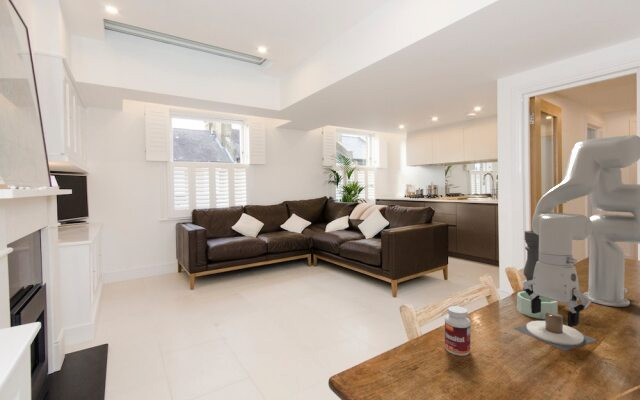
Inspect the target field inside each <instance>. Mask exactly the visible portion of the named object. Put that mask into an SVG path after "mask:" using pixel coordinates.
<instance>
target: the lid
mask: <svg viewBox="0 0 640 400" xmlns="http://www.w3.org/2000/svg"><path fill="white" fill-rule="evenodd" d="M544 320H545V321H542V320H531V321H530V322H528V323H526V325H527V331H528V332H529V333H530V334H531V335H533V336H535V337H537V338H539V339H541V340H544V341H547V342H551V343H555V344H560V345H580V344H582V343H583V341H584V336H583V335H584V334H583V333H581V332H580V331H579V330H578V329H575V328H574V327H569V326H568V325H567V324H566V325H565V324H564V317H563V315H562V314H559V313H558V314H556V313H546V314H545V319H544ZM582 334H583V335H582ZM539 339H538V340H539ZM541 340H540V341H541Z"/></svg>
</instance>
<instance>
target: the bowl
mask: <svg viewBox="0 0 640 400" xmlns="http://www.w3.org/2000/svg"><path fill="white" fill-rule="evenodd" d="M539 299H541V312H539V313H535V314H533V313H532V309H531V299H530V298H529V295H528V294H527V292H526V291H523V290H522V291H518V292H517V293H516V310H517V311H518V312H519V313H520V314H523V315H525V316H527V317H529V318H535V319H538V320H539V319H540V320H545V314H546V313H556V314H559V313H558V309H559V305H558V303H559V302H557V301H554V300H551V299H548V298H545V297H539Z"/></svg>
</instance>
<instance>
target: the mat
mask: <svg viewBox="0 0 640 400" xmlns="http://www.w3.org/2000/svg"><path fill="white" fill-rule="evenodd" d="M541 321H545V319H541ZM513 329H514V330H516V331H518V332H521V333H523V334H526V335H528V336H530V337H532V338H534V339H537V340H539V341H542V342H543V343H545V344H548V345H550V346H552V347H555V348H557V349H559V350H561V351H564V352H568V351H570V350H572V349H577V348H579V347H582V346H584V345H585V346H586V345H588V344H591V343H593V342H597V341H598V339H596V338H594V337H592V336H589V335H586V334H583V333H582V335H583V336H584V341H583V343H582V344H580V345H560V344H555V343H551V342H547V341H544V340H541V339H539V338H537V337H535V336H533V335H531V334H530V333H529V332H528V331H527V324H525V325H521V326H518V327H517V326H516V327H514V328H513Z"/></svg>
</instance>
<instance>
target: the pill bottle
mask: <svg viewBox="0 0 640 400" xmlns="http://www.w3.org/2000/svg"><path fill="white" fill-rule="evenodd" d="M468 312H469V311H468V309H467V308H465V307H462V306H458V305H457V306H456V305H454V306H452V305H451V306H449V307H448V309H447V315H446V316H445V318H444V348H445V350H446V351H447V352H448V353H449V354H452V355H454V356H462V357H463V356H468V355H469V354H470V352H471V319H469V318H468V315H469V314H468Z"/></svg>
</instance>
